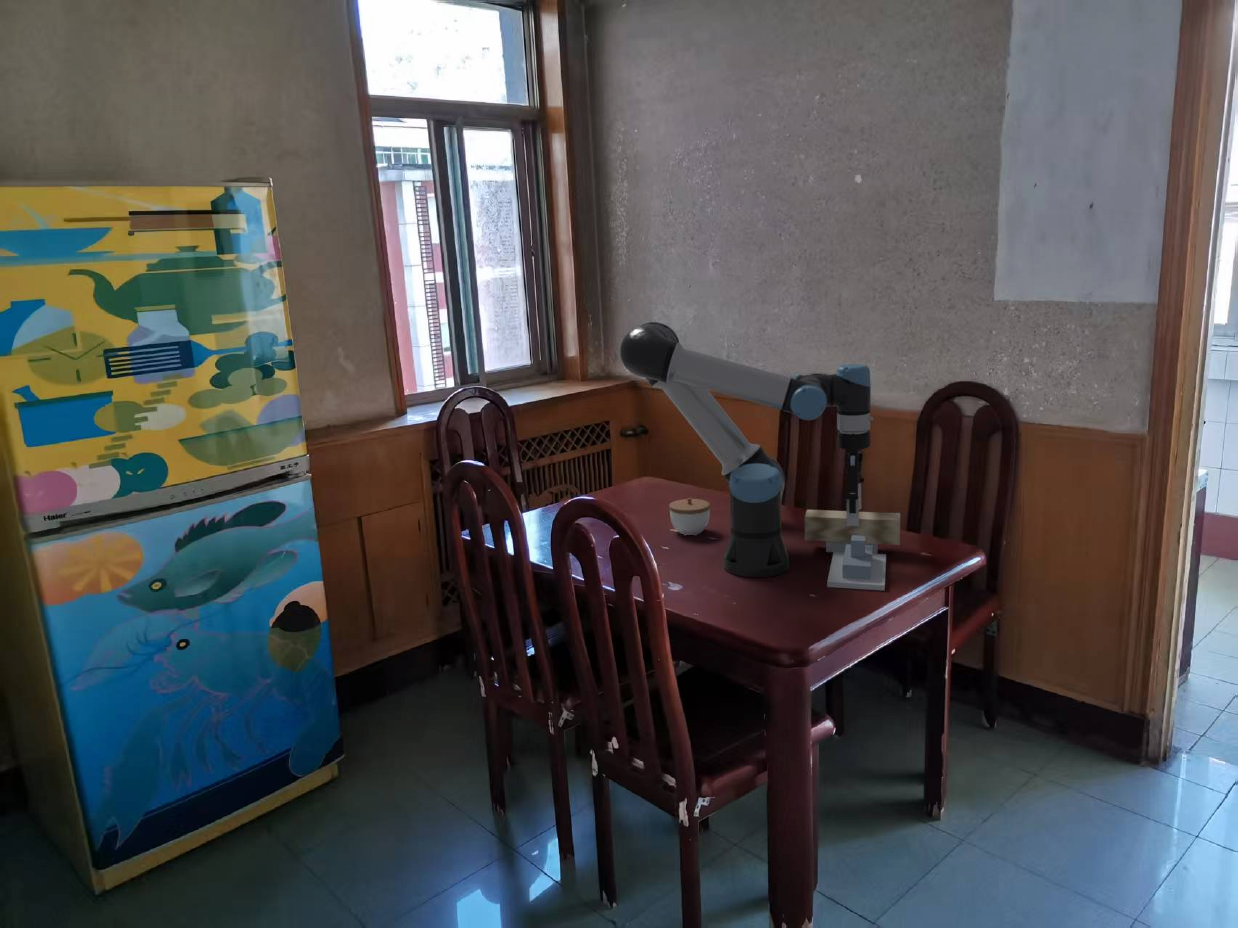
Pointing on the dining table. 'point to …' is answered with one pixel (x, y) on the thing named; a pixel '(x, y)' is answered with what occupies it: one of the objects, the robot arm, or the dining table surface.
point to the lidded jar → (689, 515)
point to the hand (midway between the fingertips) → (854, 517)
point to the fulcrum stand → (857, 567)
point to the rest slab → (842, 545)
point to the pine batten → (852, 527)
